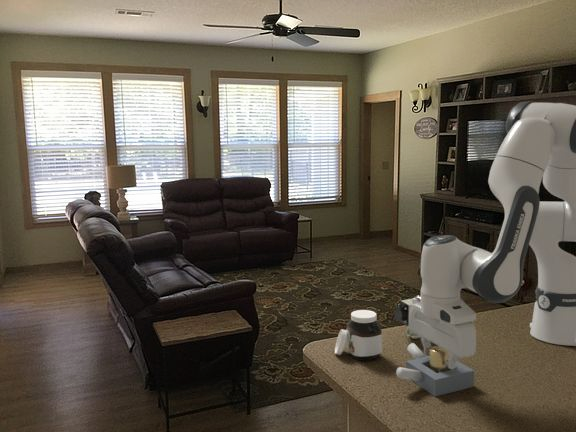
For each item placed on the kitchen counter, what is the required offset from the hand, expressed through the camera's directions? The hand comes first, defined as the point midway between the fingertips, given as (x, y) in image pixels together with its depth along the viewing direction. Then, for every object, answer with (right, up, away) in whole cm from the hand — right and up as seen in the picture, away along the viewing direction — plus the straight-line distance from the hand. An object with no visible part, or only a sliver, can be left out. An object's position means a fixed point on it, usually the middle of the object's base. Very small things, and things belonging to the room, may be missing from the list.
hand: (439, 361), depth 120 cm
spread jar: (-17, -4, +17) cm, 25 cm away
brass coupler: (0, -5, +1) cm, 5 cm away
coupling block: (-4, -5, +2) cm, 7 cm away
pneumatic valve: (+2, -1, +29) cm, 29 cm away
